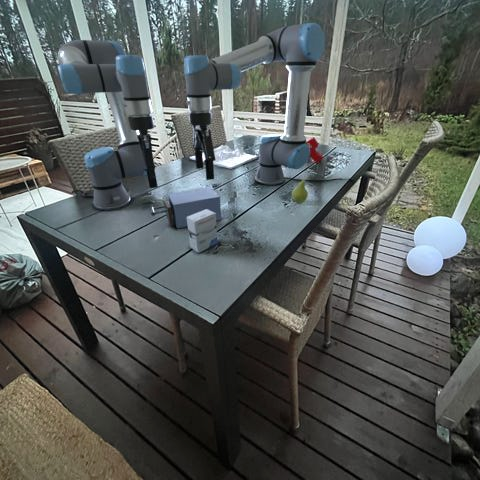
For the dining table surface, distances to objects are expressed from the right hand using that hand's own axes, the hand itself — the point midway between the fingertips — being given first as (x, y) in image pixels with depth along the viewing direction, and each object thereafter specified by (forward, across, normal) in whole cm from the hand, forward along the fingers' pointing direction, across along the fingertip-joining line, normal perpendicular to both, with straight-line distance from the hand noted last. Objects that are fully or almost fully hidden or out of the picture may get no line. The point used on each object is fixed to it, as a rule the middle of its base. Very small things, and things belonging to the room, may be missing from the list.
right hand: (204, 173), depth 102 cm
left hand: (+2, 0, -19) cm, 19 cm away
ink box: (+18, +21, -8) cm, 29 cm away
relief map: (+18, -73, +33) cm, 82 cm away
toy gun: (+18, -45, +78) cm, 91 cm away
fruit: (+18, +4, +42) cm, 45 cm away
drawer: (+17, 0, -11) cm, 20 cm away
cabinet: (+18, 0, -5) cm, 18 cm away
